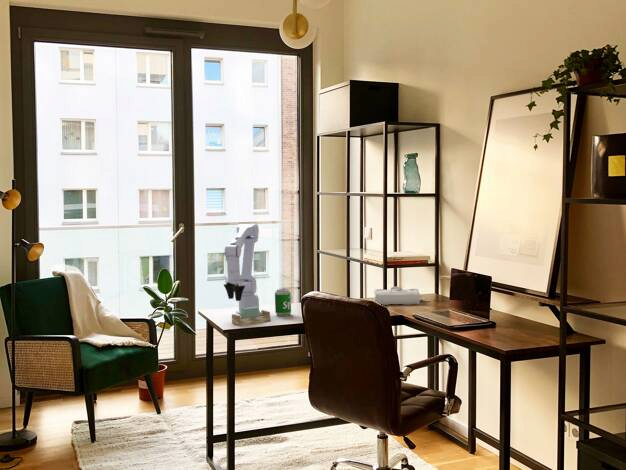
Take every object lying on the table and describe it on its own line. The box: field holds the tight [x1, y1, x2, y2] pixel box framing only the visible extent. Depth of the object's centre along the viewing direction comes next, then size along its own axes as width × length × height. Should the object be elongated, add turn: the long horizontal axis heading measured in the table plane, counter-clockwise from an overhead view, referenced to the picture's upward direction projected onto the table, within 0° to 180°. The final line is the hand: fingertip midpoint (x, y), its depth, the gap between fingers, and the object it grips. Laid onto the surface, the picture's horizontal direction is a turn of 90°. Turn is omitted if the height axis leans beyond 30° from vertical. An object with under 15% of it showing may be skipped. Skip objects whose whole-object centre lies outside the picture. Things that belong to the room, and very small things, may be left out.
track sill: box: [231, 309, 271, 327], centre depth 324 cm, size 16×6×4 cm, turn 123°
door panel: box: [240, 306, 260, 319], centre depth 323 cm, size 8×3×6 cm, turn 123°
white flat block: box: [373, 286, 430, 306], centre depth 364 cm, size 19×28×8 cm
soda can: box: [274, 288, 292, 317], centre depth 338 cm, size 8×8×12 cm
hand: (234, 299), depth 330 cm, fingers open, 7 cm apart
